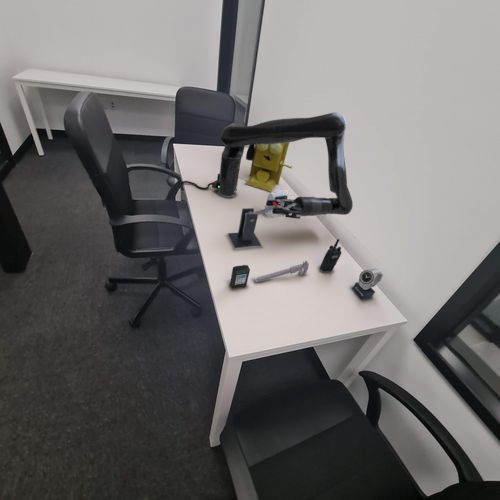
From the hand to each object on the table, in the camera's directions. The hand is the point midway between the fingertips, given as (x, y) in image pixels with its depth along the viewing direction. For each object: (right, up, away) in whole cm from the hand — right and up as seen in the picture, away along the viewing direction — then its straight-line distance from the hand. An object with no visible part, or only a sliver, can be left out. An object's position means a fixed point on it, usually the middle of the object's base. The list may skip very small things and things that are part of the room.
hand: (270, 206), depth 99 cm
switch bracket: (-10, -13, +7) cm, 17 cm away
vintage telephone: (-2, +22, +52) cm, 57 cm away
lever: (-3, -3, +1) cm, 4 cm away
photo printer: (+4, +1, +28) cm, 28 cm away
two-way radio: (+21, -24, +3) cm, 32 cm away
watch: (+32, -32, -5) cm, 46 cm away
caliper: (+3, -26, -6) cm, 27 cm away
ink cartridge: (-12, -28, -12) cm, 33 cm away
